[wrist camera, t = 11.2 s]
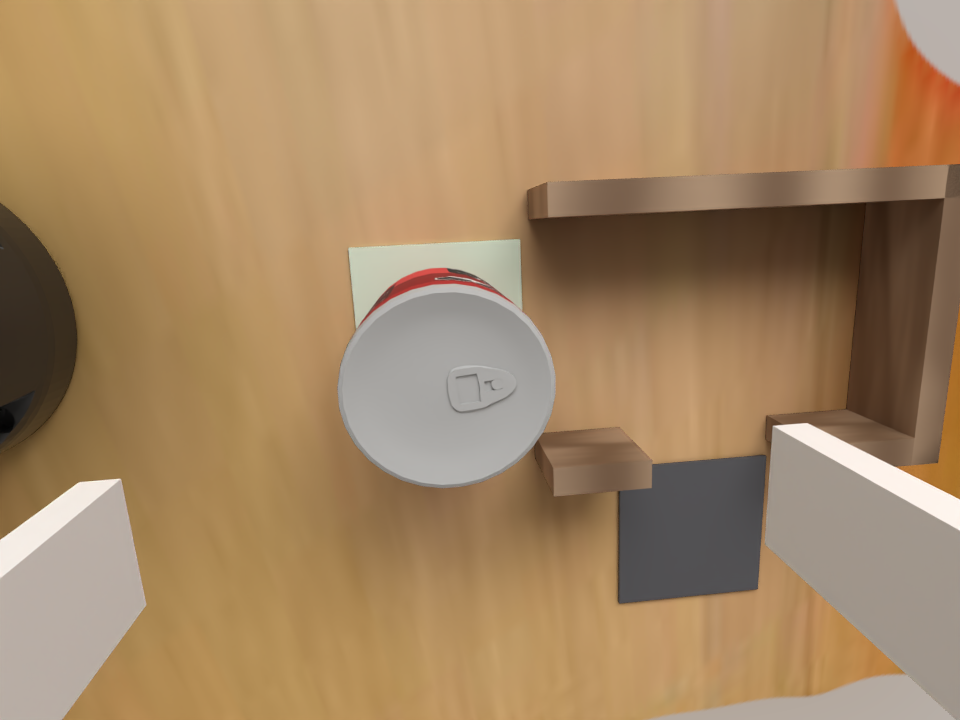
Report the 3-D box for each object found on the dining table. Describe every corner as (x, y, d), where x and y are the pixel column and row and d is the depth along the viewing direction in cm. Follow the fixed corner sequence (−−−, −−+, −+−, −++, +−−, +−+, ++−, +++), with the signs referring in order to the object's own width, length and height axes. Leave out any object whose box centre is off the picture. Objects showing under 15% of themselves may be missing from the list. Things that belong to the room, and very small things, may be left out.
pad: (365, 430, 32) (365, 430, 32) (348, 247, 30) (348, 247, 30) (525, 417, 33) (525, 418, 33) (519, 239, 31) (520, 239, 31)
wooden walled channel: (535, 458, 34) (554, 496, 29) (527, 189, 30) (547, 182, 26) (867, 430, 35) (938, 462, 30) (894, 173, 32) (978, 163, 27)
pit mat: (618, 601, 36) (619, 603, 36) (619, 467, 34) (620, 468, 34) (755, 587, 37) (757, 589, 37) (764, 455, 35) (766, 456, 35)
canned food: (533, 370, 32) (587, 439, 22) (402, 427, 32) (391, 524, 22) (480, 241, 31) (510, 247, 20) (341, 302, 31) (297, 340, 20)
